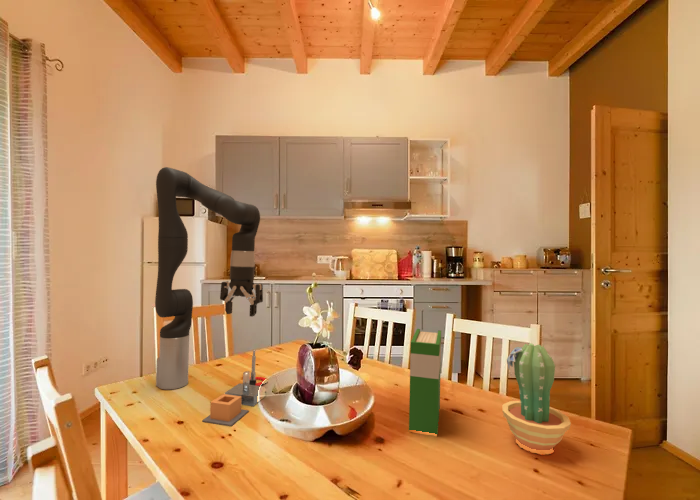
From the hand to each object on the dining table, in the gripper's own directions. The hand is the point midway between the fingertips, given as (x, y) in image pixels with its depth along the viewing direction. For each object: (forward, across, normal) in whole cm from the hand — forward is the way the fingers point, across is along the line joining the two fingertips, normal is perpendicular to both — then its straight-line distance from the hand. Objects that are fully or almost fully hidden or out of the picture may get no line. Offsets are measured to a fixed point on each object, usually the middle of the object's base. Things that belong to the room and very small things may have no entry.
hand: (240, 314), depth 112 cm
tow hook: (+27, -1, +12) cm, 30 cm away
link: (+26, +5, -13) cm, 29 cm away
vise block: (+26, +4, -2) cm, 27 cm away
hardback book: (+26, +59, +4) cm, 65 cm away
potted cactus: (+25, +86, -2) cm, 90 cm away
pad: (+26, +5, -13) cm, 30 cm away
